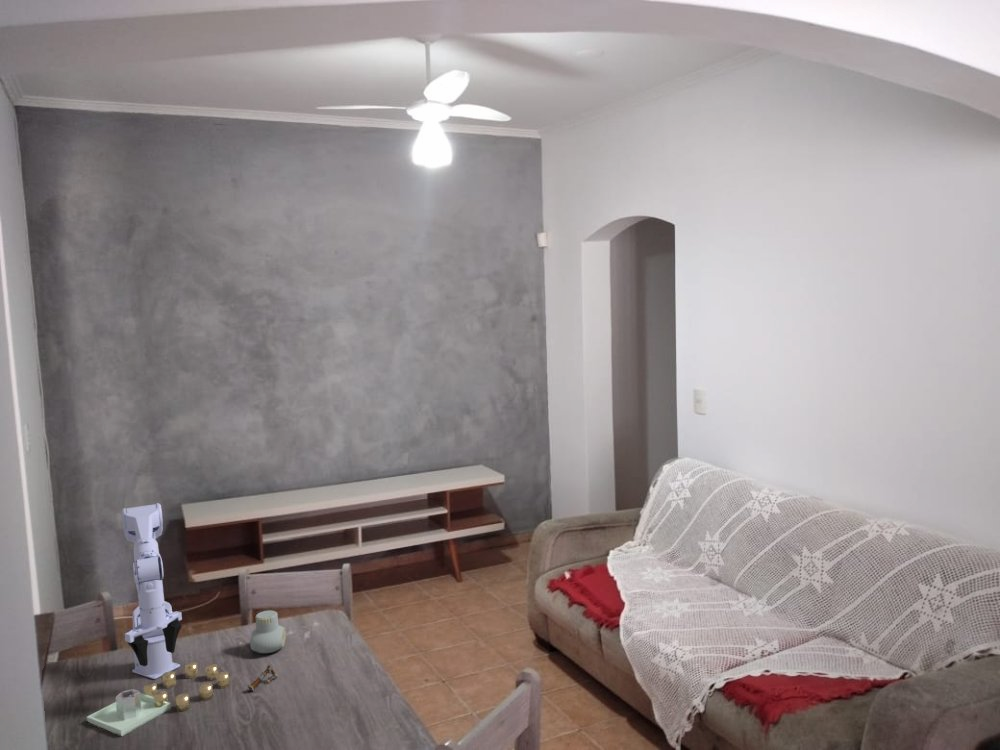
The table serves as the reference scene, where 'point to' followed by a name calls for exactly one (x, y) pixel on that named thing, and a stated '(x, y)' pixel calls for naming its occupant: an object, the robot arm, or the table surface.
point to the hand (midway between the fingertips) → (157, 658)
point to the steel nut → (128, 704)
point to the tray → (121, 727)
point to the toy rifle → (262, 676)
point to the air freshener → (267, 633)
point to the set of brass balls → (183, 699)
